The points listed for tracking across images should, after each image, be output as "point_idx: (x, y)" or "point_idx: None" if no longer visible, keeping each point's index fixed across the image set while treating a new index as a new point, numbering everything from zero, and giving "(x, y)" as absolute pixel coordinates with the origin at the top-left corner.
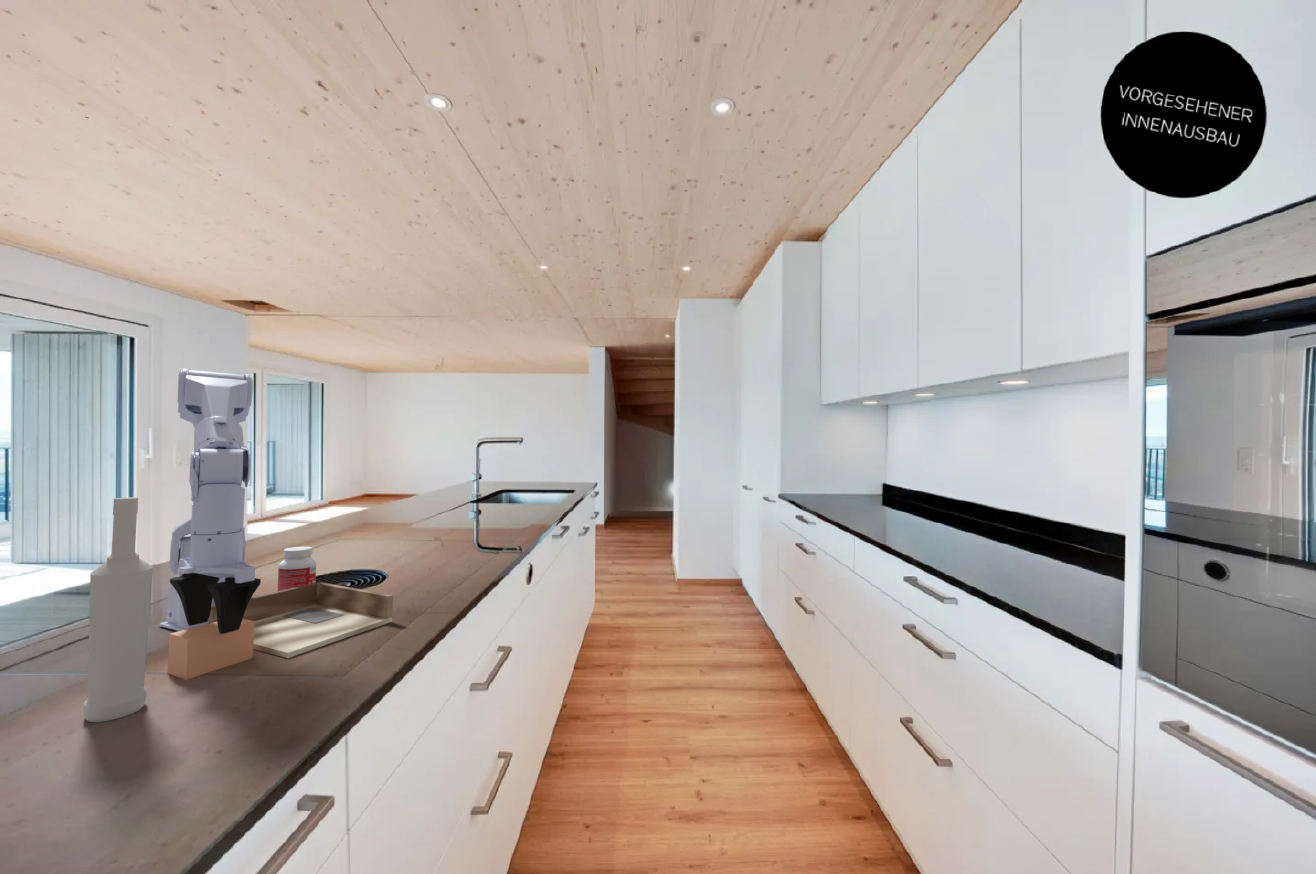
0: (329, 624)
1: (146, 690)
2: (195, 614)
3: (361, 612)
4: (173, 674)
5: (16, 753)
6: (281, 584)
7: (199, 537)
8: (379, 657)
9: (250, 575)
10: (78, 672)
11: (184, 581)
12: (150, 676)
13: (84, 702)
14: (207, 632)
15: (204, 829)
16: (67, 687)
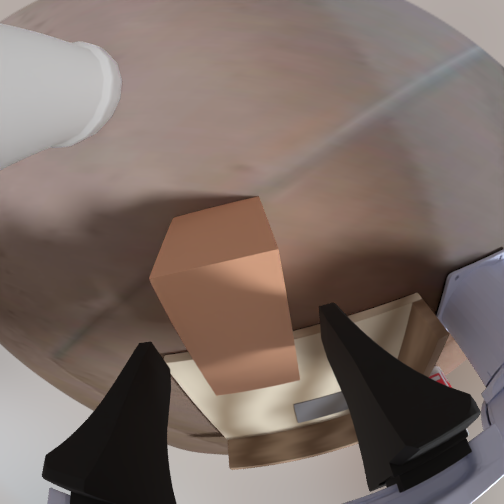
0: (270, 412)
1: (53, 147)
2: (332, 341)
3: (282, 432)
4: (231, 204)
5: (39, 2)
6: None
7: None
8: (96, 397)
9: None
10: (425, 87)
11: (395, 452)
12: (269, 165)
13: (76, 42)
14: (187, 326)
15: None
16: (346, 39)
